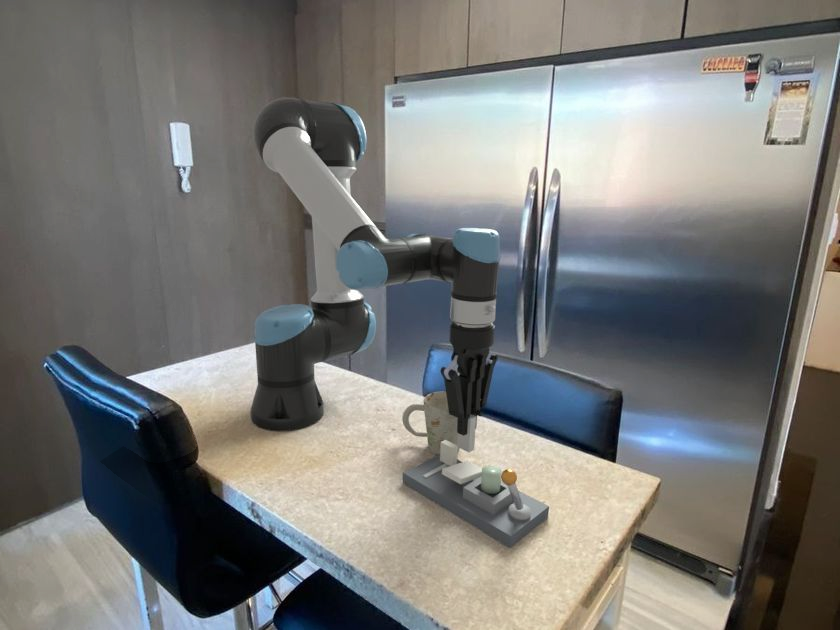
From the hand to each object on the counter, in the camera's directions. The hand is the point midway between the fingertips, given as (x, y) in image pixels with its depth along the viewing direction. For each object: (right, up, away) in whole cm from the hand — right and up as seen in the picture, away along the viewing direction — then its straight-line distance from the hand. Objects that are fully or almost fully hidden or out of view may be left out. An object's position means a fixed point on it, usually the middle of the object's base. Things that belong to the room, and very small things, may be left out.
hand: (465, 448), depth 93 cm
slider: (-3, -2, -3) cm, 5 cm away
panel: (0, -6, -9) cm, 11 cm away
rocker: (-1, -2, -9) cm, 9 cm away
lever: (+7, -5, -16) cm, 18 cm away
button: (+3, -3, -13) cm, 13 cm away
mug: (-6, -2, +7) cm, 9 cm away
